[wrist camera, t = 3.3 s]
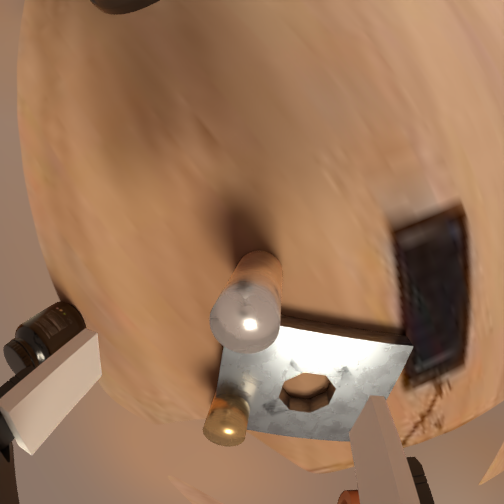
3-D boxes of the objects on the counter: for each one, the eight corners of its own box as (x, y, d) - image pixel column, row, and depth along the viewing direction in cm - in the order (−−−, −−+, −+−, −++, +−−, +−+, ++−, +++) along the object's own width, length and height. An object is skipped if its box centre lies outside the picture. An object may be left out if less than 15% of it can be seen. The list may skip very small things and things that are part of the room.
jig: (213, 408, 34) (200, 446, 27) (230, 304, 30) (215, 337, 23) (357, 429, 33) (365, 466, 26) (406, 335, 29) (428, 369, 22)
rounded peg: (233, 289, 30) (205, 345, 19) (240, 246, 29) (214, 284, 18) (277, 298, 29) (271, 359, 19) (287, 255, 28) (287, 299, 18)
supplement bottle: (47, 304, 34) (-9, 338, 22) (74, 296, 33) (13, 335, 21) (66, 345, 35) (17, 386, 24) (95, 341, 34) (43, 389, 22)
